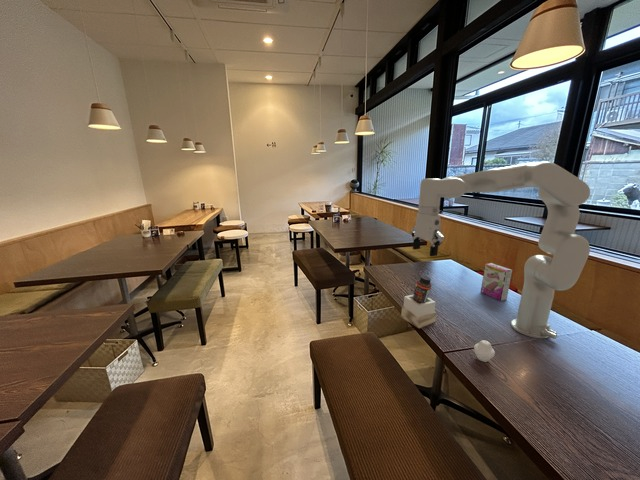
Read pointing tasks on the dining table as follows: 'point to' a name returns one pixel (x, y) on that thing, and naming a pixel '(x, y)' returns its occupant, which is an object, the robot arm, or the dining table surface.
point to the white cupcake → (484, 351)
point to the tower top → (419, 306)
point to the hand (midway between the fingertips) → (424, 252)
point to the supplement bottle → (422, 290)
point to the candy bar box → (496, 281)
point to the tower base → (418, 318)
